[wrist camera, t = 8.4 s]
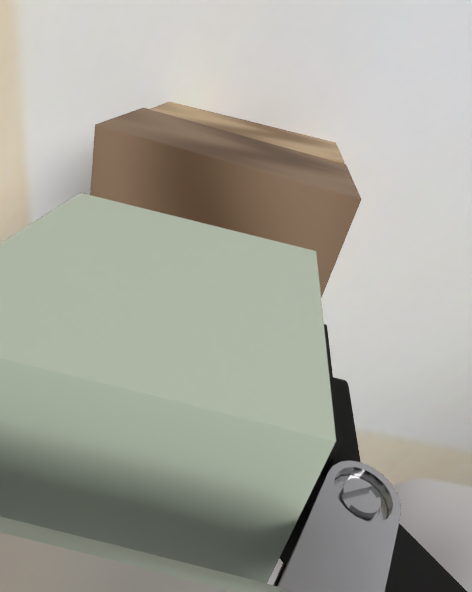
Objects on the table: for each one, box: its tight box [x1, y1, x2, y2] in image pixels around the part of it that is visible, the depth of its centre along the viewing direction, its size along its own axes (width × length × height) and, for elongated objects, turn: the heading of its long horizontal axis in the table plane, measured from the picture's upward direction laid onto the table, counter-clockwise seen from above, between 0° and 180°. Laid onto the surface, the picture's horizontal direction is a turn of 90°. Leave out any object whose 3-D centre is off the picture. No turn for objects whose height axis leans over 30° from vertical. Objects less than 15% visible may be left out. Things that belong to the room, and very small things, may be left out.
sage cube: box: [0, 193, 336, 584], centre depth 9 cm, size 6×6×6 cm
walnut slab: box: [91, 108, 361, 297], centre depth 16 cm, size 8×8×4 cm
